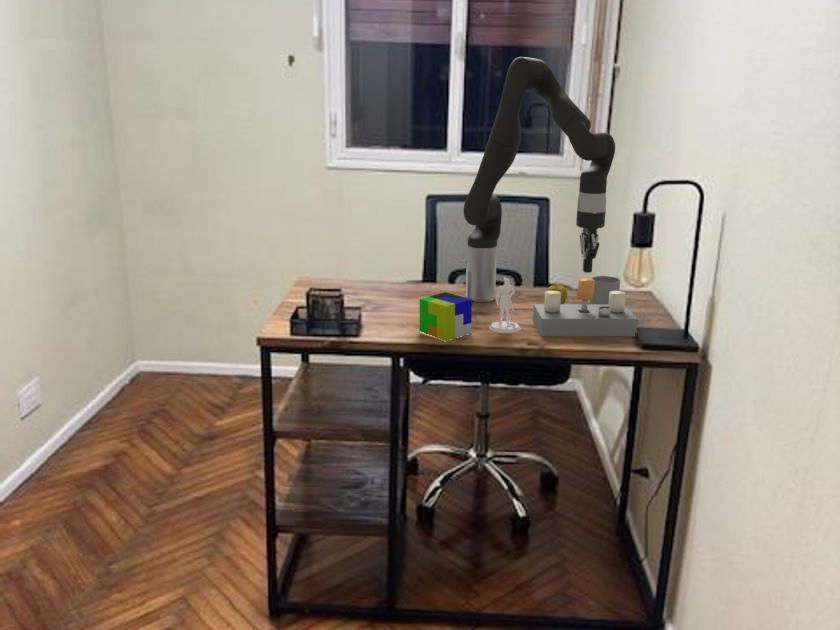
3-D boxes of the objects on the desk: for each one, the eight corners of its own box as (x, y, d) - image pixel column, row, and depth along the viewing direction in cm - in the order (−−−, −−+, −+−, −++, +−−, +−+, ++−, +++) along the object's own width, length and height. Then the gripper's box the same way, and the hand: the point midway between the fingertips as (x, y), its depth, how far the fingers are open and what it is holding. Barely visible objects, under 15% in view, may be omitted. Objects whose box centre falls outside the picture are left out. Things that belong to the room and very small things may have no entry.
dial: (599, 317, 205) (600, 308, 205) (596, 314, 208) (597, 305, 208) (611, 317, 205) (612, 308, 205) (608, 314, 208) (609, 305, 208)
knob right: (609, 326, 210) (611, 294, 208) (605, 321, 214) (607, 290, 212) (625, 326, 210) (627, 295, 208) (620, 321, 214) (623, 290, 212)
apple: (546, 311, 229) (548, 285, 226) (543, 305, 235) (544, 280, 232) (568, 311, 229) (569, 285, 226) (563, 305, 235) (565, 280, 232)
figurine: (488, 332, 209) (490, 279, 204) (489, 322, 217) (491, 272, 213) (520, 334, 207) (523, 281, 203) (520, 324, 216) (523, 273, 211)
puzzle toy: (471, 334, 207) (471, 299, 204) (445, 342, 200) (446, 306, 198) (444, 326, 214) (445, 292, 211) (419, 333, 207) (419, 298, 204)
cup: (620, 315, 225) (623, 282, 222) (592, 315, 225) (595, 282, 222) (613, 307, 233) (616, 275, 230) (586, 307, 233) (589, 275, 230)
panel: (540, 336, 206) (541, 318, 204) (532, 320, 219) (533, 304, 218) (635, 336, 206) (637, 318, 205) (622, 321, 219) (623, 304, 218)
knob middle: (577, 313, 209) (580, 281, 206) (574, 309, 213) (576, 277, 211) (593, 313, 209) (596, 281, 206) (590, 309, 213) (592, 278, 211)
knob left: (544, 326, 210) (546, 294, 207) (542, 321, 214) (543, 290, 211) (560, 326, 210) (562, 294, 207) (557, 321, 214) (559, 290, 212)
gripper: (572, 205, 209) (568, 266, 214) (582, 213, 196) (578, 277, 201) (599, 205, 209) (594, 266, 214) (611, 213, 197) (606, 277, 202)
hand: (587, 271), depth 208 cm, fingers closed
